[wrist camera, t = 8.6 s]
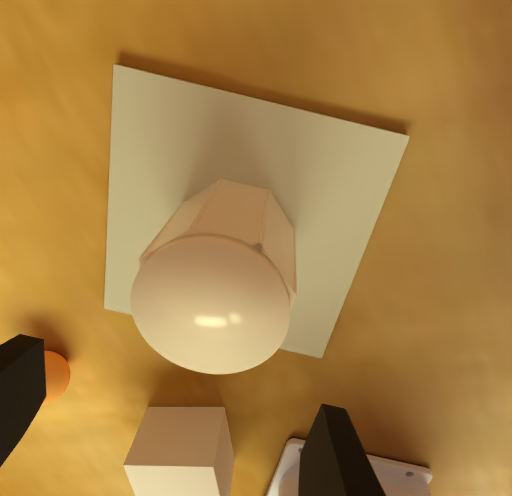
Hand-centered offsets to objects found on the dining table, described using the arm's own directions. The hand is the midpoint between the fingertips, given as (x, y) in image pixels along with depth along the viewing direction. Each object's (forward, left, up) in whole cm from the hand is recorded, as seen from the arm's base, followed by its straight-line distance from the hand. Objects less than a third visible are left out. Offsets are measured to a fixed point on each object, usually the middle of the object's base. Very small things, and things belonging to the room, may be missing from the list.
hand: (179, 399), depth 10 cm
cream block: (0, +14, -10) cm, 17 cm away
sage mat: (0, -1, -9) cm, 9 cm away
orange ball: (+9, +10, -8) cm, 16 cm away
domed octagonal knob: (0, -1, -9) cm, 9 cm away
